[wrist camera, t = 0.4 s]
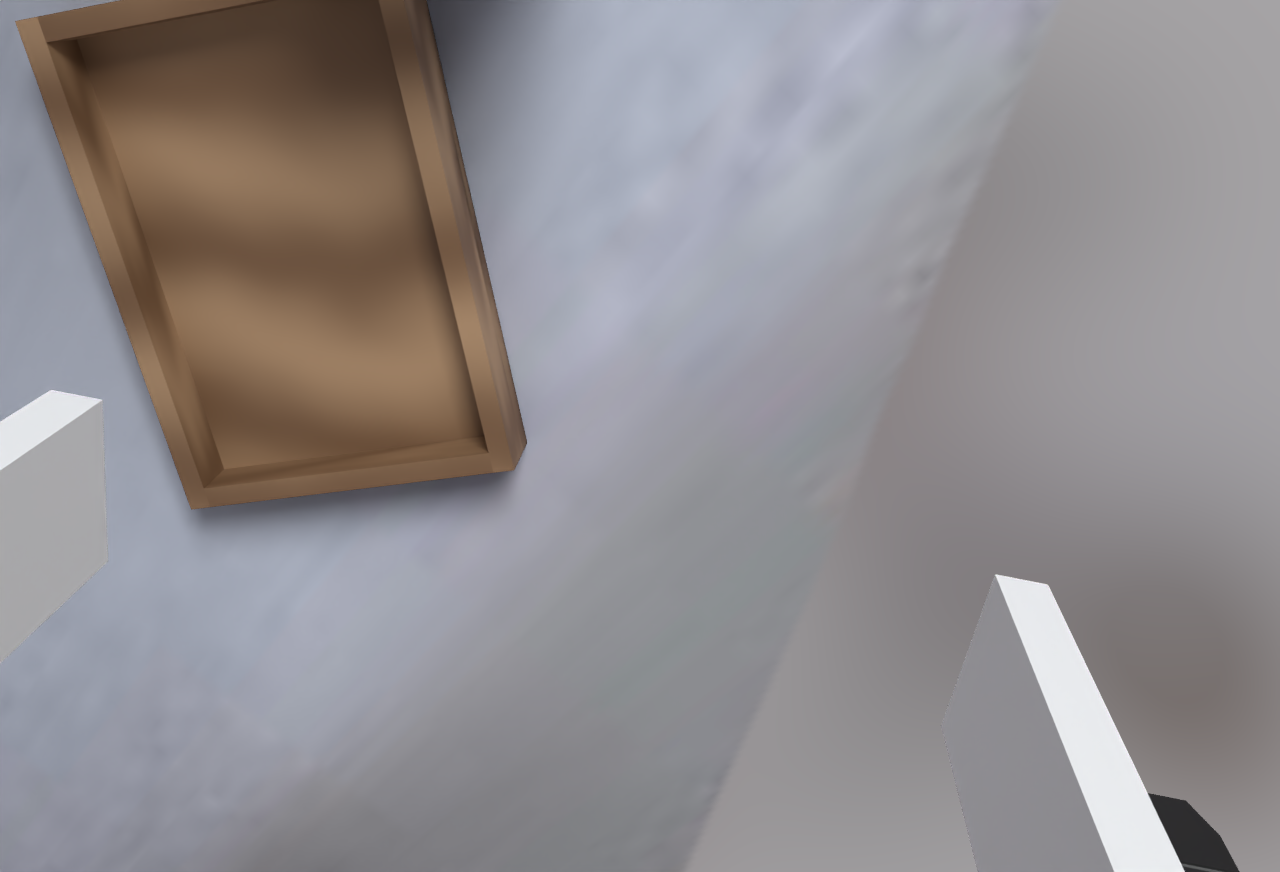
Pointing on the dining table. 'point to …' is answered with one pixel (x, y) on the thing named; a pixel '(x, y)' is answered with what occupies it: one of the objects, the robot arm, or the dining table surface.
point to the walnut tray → (285, 238)
